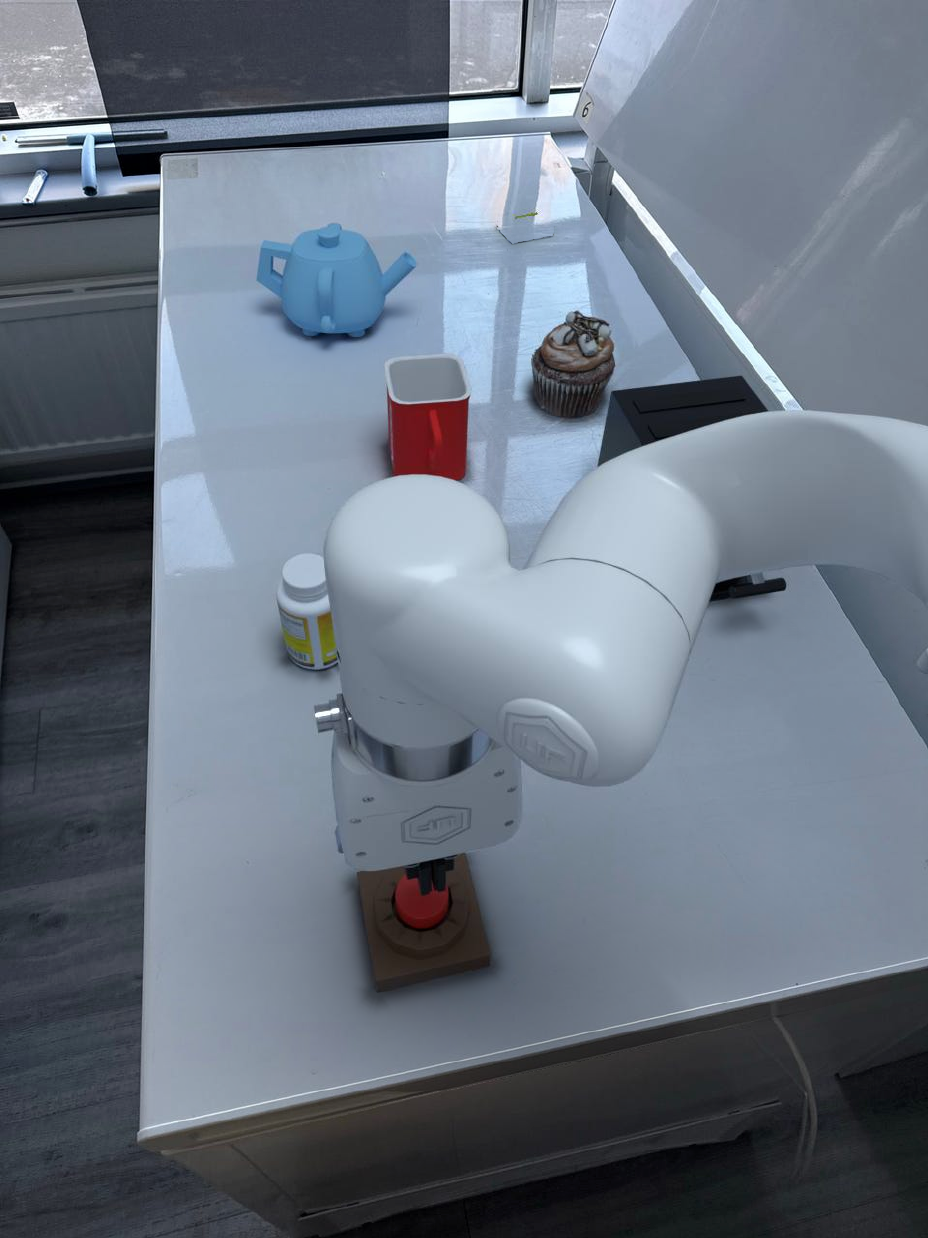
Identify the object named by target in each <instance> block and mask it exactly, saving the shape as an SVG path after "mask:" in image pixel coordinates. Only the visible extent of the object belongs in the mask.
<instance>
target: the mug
mask: <svg viewBox="0 0 928 1238" xmlns="http://www.w3.org/2000/svg"><path fill="white" fill-rule="evenodd" d="M383 364H384V365H383V370H384V376H385V380H386V402H387V425H388V426H387V427H388V450H389V455H390V460H391V461H390V462H391V467H392V472H393V477H395V476H400V475H412V474H419V475H433V476H441V477H444V478H448V479H452V480H455V481H460V480H462V479H463V478H464V477H465V476H466V472H467V451H468V429H469V428H468V427H469V404H470V398H471V395H472V386H471V383H470V379H469V376H468V373H467V370H466V369H467V368H466V365H465V362H464V360H463V359H462V358H461V357H460V356H459V355H456V354H454V353H434V354H417V355H403V356H401V355H400V356H394V357H390V358H389V359H387V360H386V361H384V363H383Z"/></svg>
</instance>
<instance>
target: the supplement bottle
mask: <svg viewBox="0 0 928 1238" xmlns="http://www.w3.org/2000/svg"><path fill="white" fill-rule="evenodd" d="M281 576H282V577H281V578H280V580H279V581H278V583H277V584H276V585H277V586H276V589H275V599H276V603H277V609H278V614H279V617H280V623H281V627H282V633H283V637H284V643H285V649H286V652H287V654H288V656H289V658H290V659H291V661H293V662H294V663H295V664H296V665H298V666H299V667H301V668H304V669H308V670H323V669H327V668H330V667H332V666H334V665H336V664H338V658H337V652H336V645H335V638H334V631H333V625H332V618H331V611H330V604H329V597H328V591H327V584H326V577H325V569H324V556H321V555H319V554H316V553H299V554H297V555H294V556H292V557H291V558H289V559H288V560H286V562H285V563H284V565H283V566H282V571H281Z"/></svg>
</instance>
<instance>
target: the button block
mask: <svg viewBox="0 0 928 1238" xmlns="http://www.w3.org/2000/svg"><path fill="white" fill-rule="evenodd" d="M405 874H406V872H405V867H404V866H400V867H395V868H390V869H384V870H378V871H360V870H358V871H356V877H357V884H358V891H359V895H360V903H361V908H362V914H363V920H364V925H365V931H366V937H367V942H368V948H369V954H370V961H371V965H372V966H371V967H372V972H373V978H374V984H375V989H376V993H381V992H385V991H389V990H394V989H397V988H403V987H406V986H410V985H411V986H412V985H415V984H419V983H424V982H428V981H432V980H436V979H441V978H446V977H449V976H453V975H458V974H462V973H463V974H464V973H466V972H471V971H475V970H479V969H484V968H489V967H490V965H491V958H492V953H491V949H490V944H489V941H488V937H487V934H486V929H485V926H484V921H483V917H482V914H481V910H480V906H479V902H478V899H477V894H476V891H475V887H474V883H473V879H472V876H471V875H472V874H471V871H470V867H469V863H468V859H467V856H466V852H465V853H461V854H460V855H459V856H458V857H456V858H454V870H451V871H447V872H446V884H447V887H448V893H449V895H448V908H447V912H446V914H445V916H444V917H443V919H442V920H441V921H440V922H439V923H438V924H436V925H434V926H432V927H429V928H425V929H419V928H414V927H411V926H409V925H407V924H406V923H405V922H403V921H402V919H401V918H400V917H399V915H398V912H397V909H396V898H395V892H396V887H397V884H398V882H399V881H400V879H401V878H402V877H403V876H404V875H405Z"/></svg>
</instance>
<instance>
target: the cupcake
mask: <svg viewBox="0 0 928 1238" xmlns="http://www.w3.org/2000/svg"><path fill="white" fill-rule="evenodd" d="M564 319H565V321H564V322H563V323H561V324H560V323H559V324H558V325H557V326H555V327H554V328H553V329H552V330H551V331H550V332H549V333H547V334H546V336H545V337H544V338H543V340H542V343H541V345H540V346H539V347H538V348H535V349H534V352H533V354H531V357H530V364H531V365H530V366H531V372H532V380H533V381H532V382H533V392H534V394H533V395H534V400H535V403H536V405H537V406H538V407H539V408H540V409H542V410H543V411H545V412H546V413H547V414H550V415H552V416H555V417H559V418H560V417H562V418H568V419H574V418H582V417H585V416H589V415H590V414H592V413H595V411H596V410H597V407H598V406H599V405H600V402H601V400H602V397H603V395H604V393H605V391H606V388H607V386H608V384H609V382H610V380H611V379H612V376H613V375H614V371H615V368H616V360H615V356H614V351H615V343H614V342H613V340H612V338H611V334H612V329H611V328H610V323H609V322H607V321H606V320H604V319H601V318H598V317H594V316H586V315H584V314H583V313H582V312H580V311H579V310H575V311H569V312H568V313H567V314H566V315H565V318H564Z"/></svg>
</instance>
